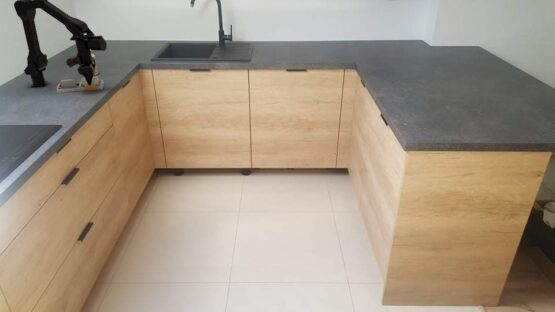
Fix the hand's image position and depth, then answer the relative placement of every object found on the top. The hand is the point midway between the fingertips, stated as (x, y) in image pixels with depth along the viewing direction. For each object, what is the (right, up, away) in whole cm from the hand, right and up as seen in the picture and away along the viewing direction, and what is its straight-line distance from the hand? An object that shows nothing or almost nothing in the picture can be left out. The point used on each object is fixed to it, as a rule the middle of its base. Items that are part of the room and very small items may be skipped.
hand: (90, 82), depth 196 cm
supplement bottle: (-9, +8, +20) cm, 23 cm away
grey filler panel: (-9, -4, -1) cm, 10 cm away
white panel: (0, -2, +1) cm, 3 cm away
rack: (-5, -3, 0) cm, 5 cm away
